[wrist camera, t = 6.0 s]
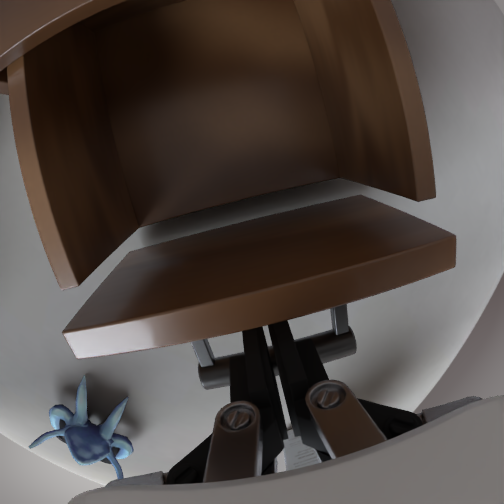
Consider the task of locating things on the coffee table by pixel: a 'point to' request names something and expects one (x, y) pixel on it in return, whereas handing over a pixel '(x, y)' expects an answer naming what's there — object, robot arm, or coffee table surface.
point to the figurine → (88, 433)
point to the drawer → (225, 167)
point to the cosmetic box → (298, 453)
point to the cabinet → (38, 25)
